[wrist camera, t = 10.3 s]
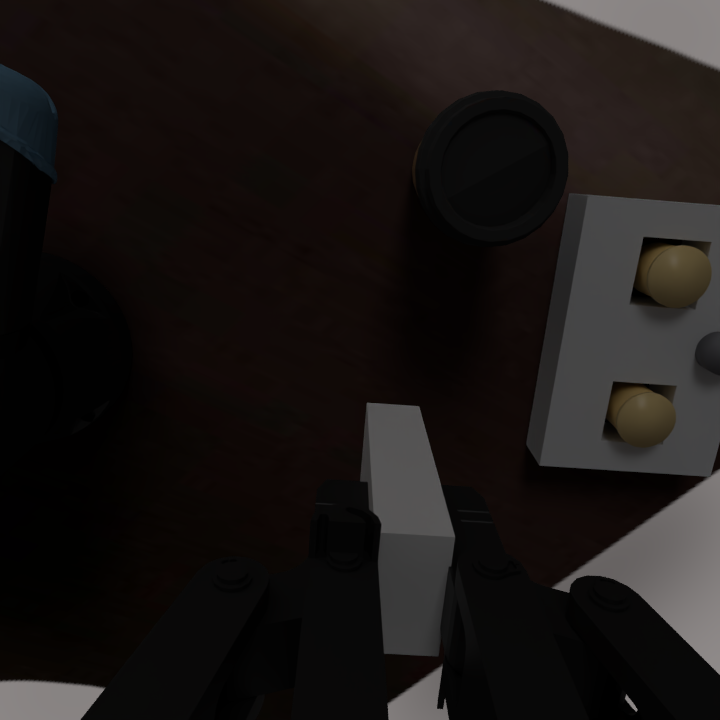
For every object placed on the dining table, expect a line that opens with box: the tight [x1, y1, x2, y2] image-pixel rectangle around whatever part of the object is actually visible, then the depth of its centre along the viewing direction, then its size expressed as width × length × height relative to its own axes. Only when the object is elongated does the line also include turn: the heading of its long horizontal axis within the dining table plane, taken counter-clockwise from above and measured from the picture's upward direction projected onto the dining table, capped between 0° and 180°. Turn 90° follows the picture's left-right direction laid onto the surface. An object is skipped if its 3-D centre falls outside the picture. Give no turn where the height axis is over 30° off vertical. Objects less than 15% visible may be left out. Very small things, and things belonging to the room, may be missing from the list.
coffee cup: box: [412, 90, 568, 247], centre depth 40 cm, size 8×8×15 cm
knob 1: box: [633, 242, 712, 308], centre depth 46 cm, size 4×4×4 cm
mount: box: [526, 193, 720, 477], centre depth 48 cm, size 14×21×6 cm, turn 176°
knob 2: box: [606, 382, 676, 448], centre depth 49 cm, size 4×4×4 cm
